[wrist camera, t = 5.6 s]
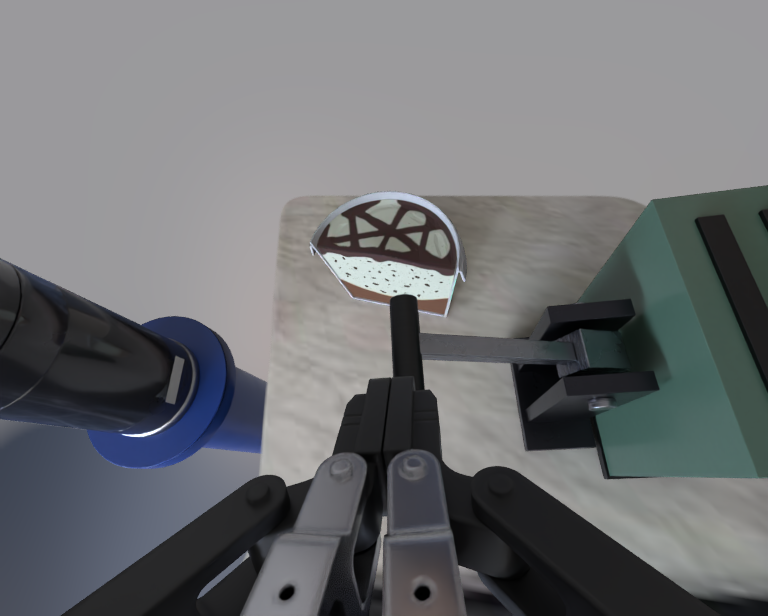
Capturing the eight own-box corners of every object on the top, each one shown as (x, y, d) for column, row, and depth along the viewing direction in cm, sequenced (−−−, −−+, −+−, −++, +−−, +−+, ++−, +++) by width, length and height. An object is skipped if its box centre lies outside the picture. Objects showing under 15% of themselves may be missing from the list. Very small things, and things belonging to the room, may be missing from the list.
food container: (475, 262, 38) (483, 195, 29) (462, 320, 36) (466, 268, 27) (356, 242, 41) (329, 176, 32) (338, 295, 39) (303, 240, 30)
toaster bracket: (525, 451, 31) (569, 437, 19) (506, 342, 34) (534, 275, 23) (592, 448, 30) (680, 431, 19) (566, 337, 34) (626, 265, 22)
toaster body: (604, 478, 29) (759, 484, 14) (564, 313, 35) (648, 193, 20) (712, 474, 28) (997, 475, 14) (654, 305, 34) (814, 172, 19)
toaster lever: (387, 401, 19) (403, 391, 17) (383, 307, 21) (397, 288, 19) (604, 403, 23) (639, 395, 21) (583, 322, 25) (613, 308, 23)
